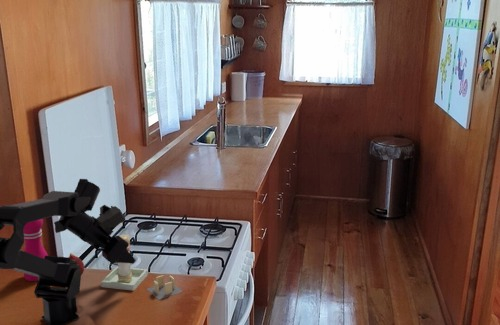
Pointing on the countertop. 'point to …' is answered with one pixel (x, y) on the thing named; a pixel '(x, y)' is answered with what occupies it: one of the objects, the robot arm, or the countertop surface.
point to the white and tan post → (125, 266)
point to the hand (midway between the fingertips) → (127, 255)
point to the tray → (112, 282)
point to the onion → (77, 262)
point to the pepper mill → (33, 243)
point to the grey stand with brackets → (164, 288)
